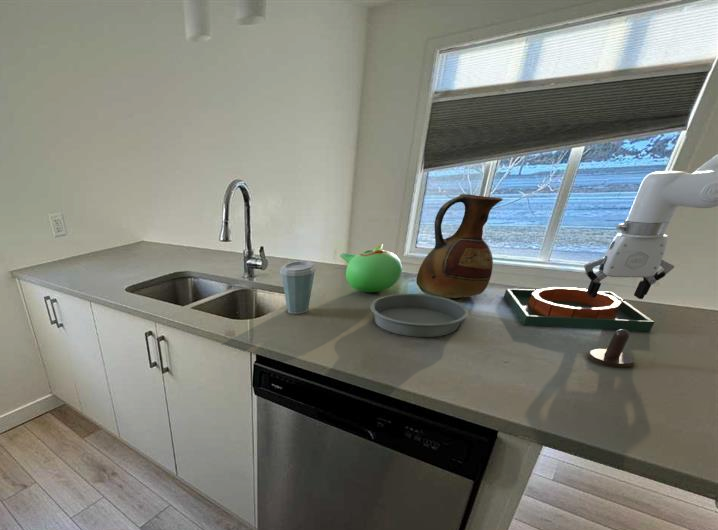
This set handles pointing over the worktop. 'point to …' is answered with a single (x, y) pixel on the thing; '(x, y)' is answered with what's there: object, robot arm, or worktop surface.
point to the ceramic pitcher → (459, 253)
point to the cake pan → (418, 314)
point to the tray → (624, 318)
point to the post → (614, 352)
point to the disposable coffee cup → (297, 285)
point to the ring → (603, 301)
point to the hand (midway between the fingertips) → (614, 296)
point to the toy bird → (372, 269)
